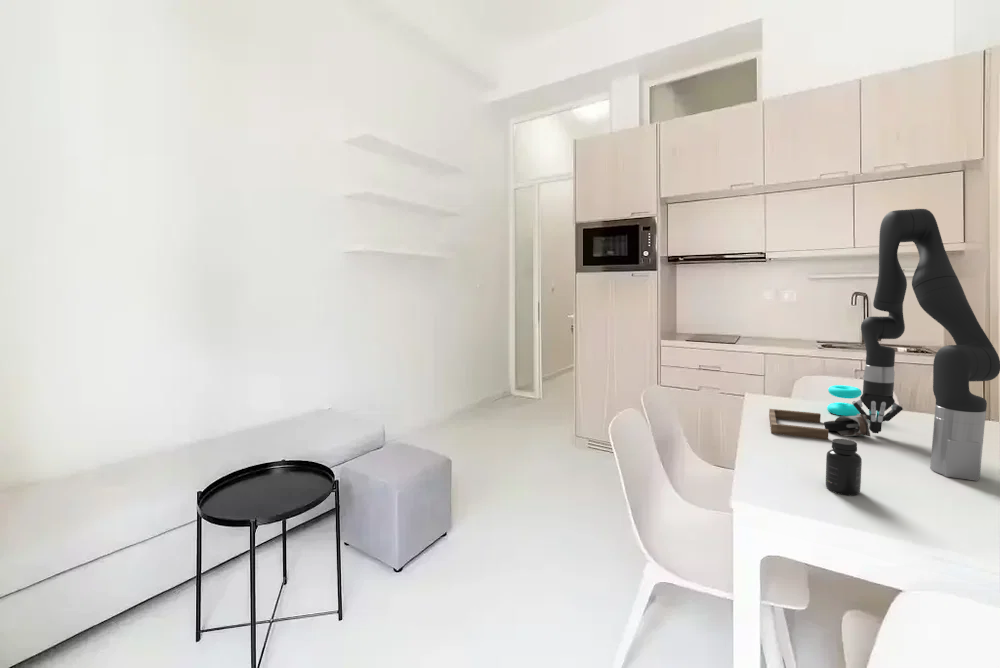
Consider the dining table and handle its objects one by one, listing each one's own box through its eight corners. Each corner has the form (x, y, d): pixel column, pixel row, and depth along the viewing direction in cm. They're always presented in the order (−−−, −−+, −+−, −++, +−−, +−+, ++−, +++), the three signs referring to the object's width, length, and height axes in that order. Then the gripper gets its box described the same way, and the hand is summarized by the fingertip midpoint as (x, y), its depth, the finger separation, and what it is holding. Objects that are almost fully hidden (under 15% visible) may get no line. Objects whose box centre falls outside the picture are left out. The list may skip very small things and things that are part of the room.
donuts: (857, 391, 167) (824, 387, 174) (855, 419, 168) (823, 413, 176) (865, 387, 173) (833, 383, 181) (863, 413, 174) (831, 408, 182)
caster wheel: (822, 435, 159) (856, 432, 156) (835, 439, 148) (872, 436, 146) (818, 415, 160) (852, 412, 157) (831, 417, 149) (868, 414, 146)
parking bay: (828, 439, 147) (828, 430, 147) (771, 433, 154) (771, 424, 154) (819, 421, 166) (820, 413, 165) (769, 416, 173) (769, 408, 173)
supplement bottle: (845, 483, 116) (848, 436, 115) (867, 495, 109) (871, 446, 108) (818, 484, 116) (820, 437, 115) (838, 496, 109) (841, 447, 108)
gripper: (854, 380, 148) (851, 433, 150) (909, 383, 142) (904, 439, 144) (850, 375, 154) (847, 426, 156) (902, 378, 148) (898, 432, 150)
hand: (874, 432), depth 150 cm, fingers closed
